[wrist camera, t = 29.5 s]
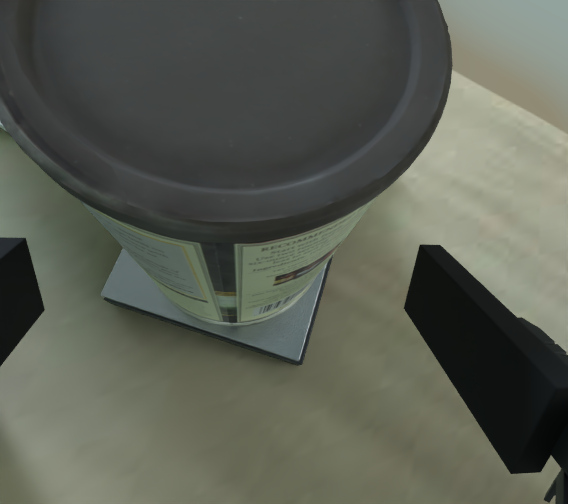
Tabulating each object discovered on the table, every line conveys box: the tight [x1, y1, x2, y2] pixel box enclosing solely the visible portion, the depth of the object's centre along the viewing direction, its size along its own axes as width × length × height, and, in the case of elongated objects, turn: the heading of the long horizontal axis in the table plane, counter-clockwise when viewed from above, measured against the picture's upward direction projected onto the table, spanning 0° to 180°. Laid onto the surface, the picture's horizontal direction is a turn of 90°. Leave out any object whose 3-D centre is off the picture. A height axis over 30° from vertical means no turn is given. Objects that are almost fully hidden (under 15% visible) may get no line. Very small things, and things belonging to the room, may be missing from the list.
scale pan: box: [100, 248, 327, 361], centre depth 22 cm, size 11×11×1 cm
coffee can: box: [0, 0, 452, 326], centre depth 15 cm, size 10×10×14 cm
